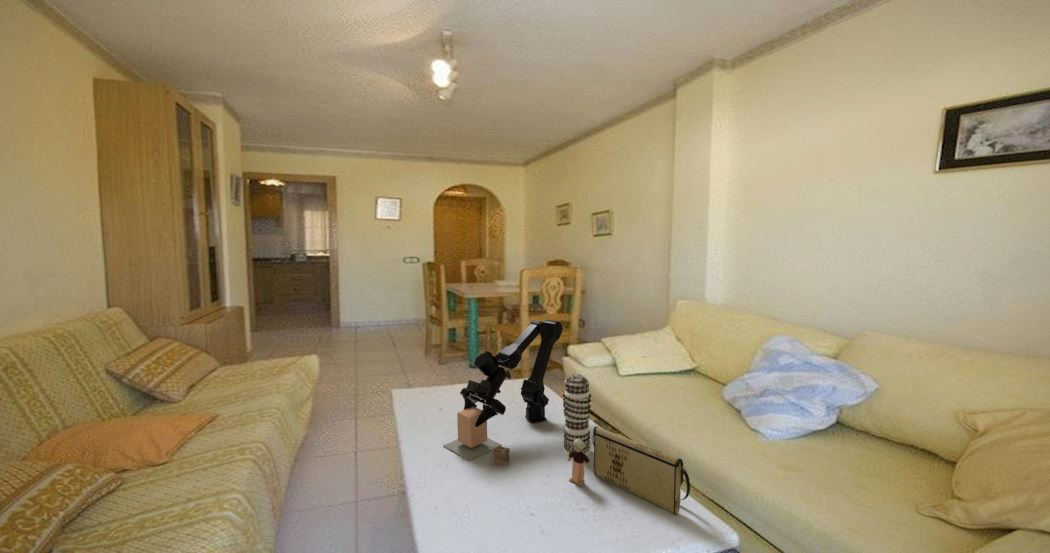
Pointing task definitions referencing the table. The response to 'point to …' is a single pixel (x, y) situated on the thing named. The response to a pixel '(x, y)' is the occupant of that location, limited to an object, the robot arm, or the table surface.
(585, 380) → the decorative candle
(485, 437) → the tan cardboard box
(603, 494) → the table surface
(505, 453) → the letter cube
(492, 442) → the rubber mat
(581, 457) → the grandmother figurine
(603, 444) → the clutch purse
